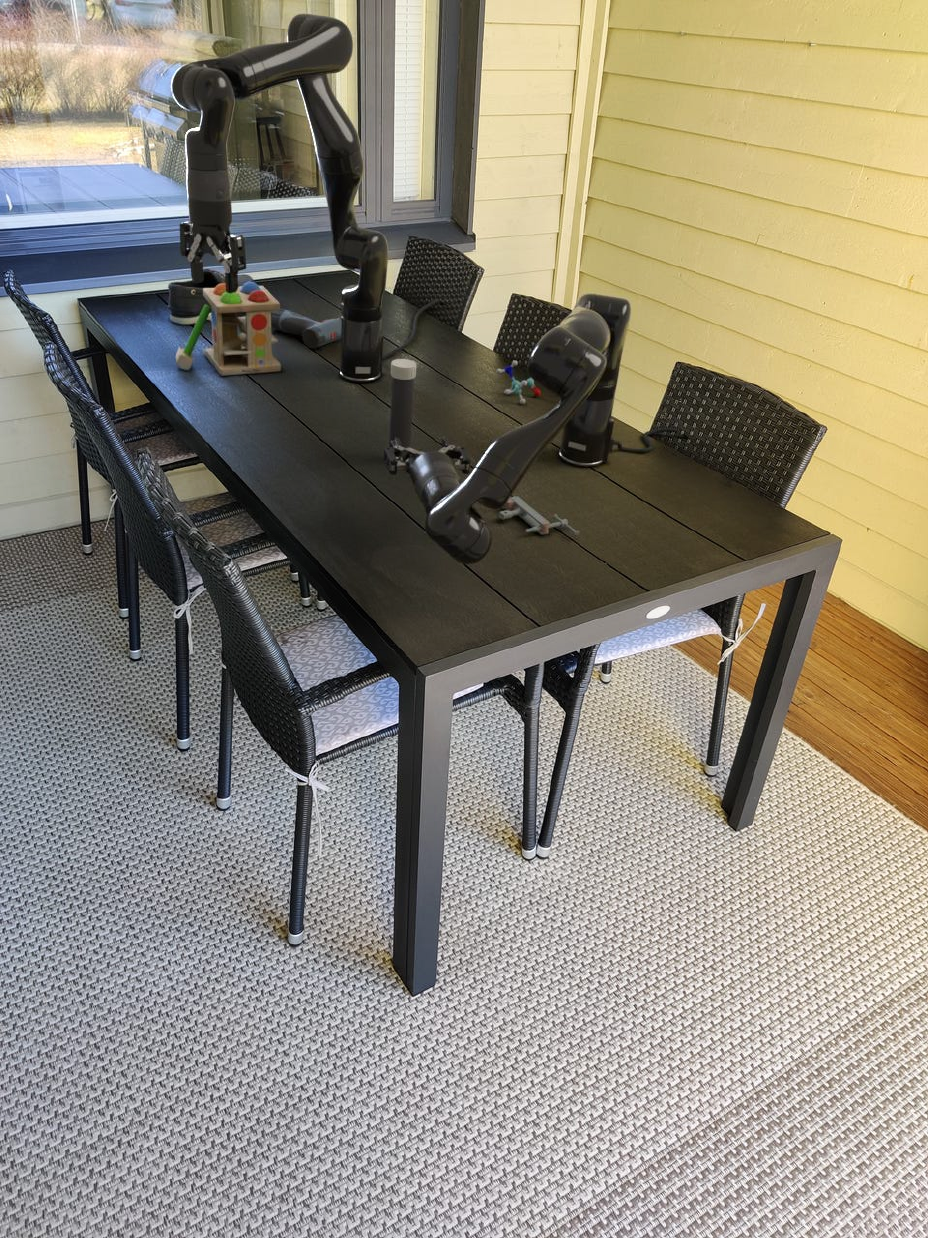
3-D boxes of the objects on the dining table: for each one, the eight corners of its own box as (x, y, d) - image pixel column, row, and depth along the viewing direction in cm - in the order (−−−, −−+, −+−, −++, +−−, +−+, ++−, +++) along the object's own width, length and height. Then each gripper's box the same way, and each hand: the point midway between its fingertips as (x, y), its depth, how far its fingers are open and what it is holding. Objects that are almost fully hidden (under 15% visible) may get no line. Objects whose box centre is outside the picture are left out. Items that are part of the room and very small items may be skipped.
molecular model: (542, 396, 221) (528, 352, 219) (504, 410, 224) (490, 367, 223) (554, 394, 231) (541, 353, 230) (517, 407, 235) (504, 367, 233)
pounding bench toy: (183, 379, 220) (176, 299, 210) (169, 357, 231) (162, 280, 221) (282, 371, 230) (280, 294, 220) (264, 350, 240) (262, 276, 230)
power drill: (305, 316, 264) (364, 334, 256) (257, 332, 251) (318, 351, 243) (305, 296, 261) (365, 314, 253) (257, 311, 248) (318, 330, 240)
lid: (388, 370, 187) (388, 358, 186) (413, 370, 188) (413, 358, 187) (393, 380, 183) (393, 367, 182) (418, 379, 184) (419, 367, 183)
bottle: (386, 456, 197) (390, 361, 186) (407, 455, 198) (412, 361, 187) (390, 465, 193) (395, 369, 182) (411, 464, 194) (417, 369, 183)
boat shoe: (275, 303, 273) (273, 264, 267) (188, 326, 249) (184, 284, 244) (241, 294, 279) (238, 256, 273) (152, 317, 255) (147, 276, 249)
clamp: (489, 500, 180) (534, 491, 184) (488, 510, 181) (533, 501, 185) (534, 538, 169) (581, 528, 174) (532, 549, 170) (579, 539, 175)
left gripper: (254, 199, 174) (257, 291, 183) (196, 184, 180) (201, 275, 189) (223, 204, 168) (228, 300, 177) (164, 189, 174) (172, 282, 183)
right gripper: (482, 461, 159) (461, 422, 172) (395, 462, 155) (380, 422, 169) (477, 503, 163) (457, 461, 176) (393, 504, 160) (378, 462, 173)
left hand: (214, 287), depth 183 cm, fingers open, 8 cm apart
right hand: (419, 442), depth 172 cm, fingers open, 8 cm apart
